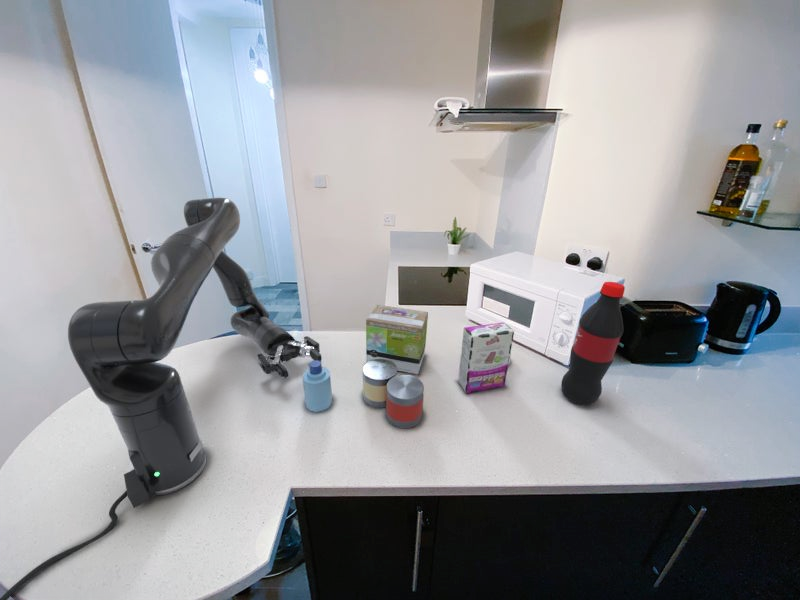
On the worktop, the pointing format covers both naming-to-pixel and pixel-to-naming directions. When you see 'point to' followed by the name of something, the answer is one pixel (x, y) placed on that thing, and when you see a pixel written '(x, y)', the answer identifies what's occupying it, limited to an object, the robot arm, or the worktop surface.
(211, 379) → the worktop surface
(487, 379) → the candy bar box
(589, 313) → the cola bottle
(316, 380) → the plastic bottle
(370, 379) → the can back
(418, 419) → the can front
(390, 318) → the tea box
